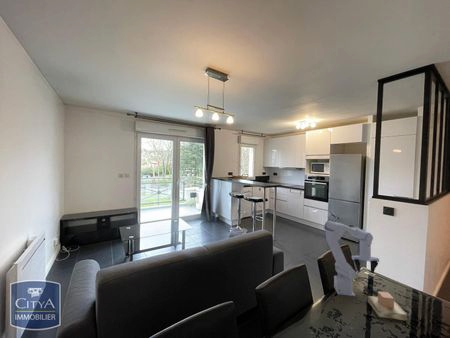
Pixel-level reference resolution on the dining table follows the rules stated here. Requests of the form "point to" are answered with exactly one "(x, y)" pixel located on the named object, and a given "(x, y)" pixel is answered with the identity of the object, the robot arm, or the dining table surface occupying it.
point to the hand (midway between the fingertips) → (365, 271)
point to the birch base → (387, 309)
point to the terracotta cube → (385, 299)
